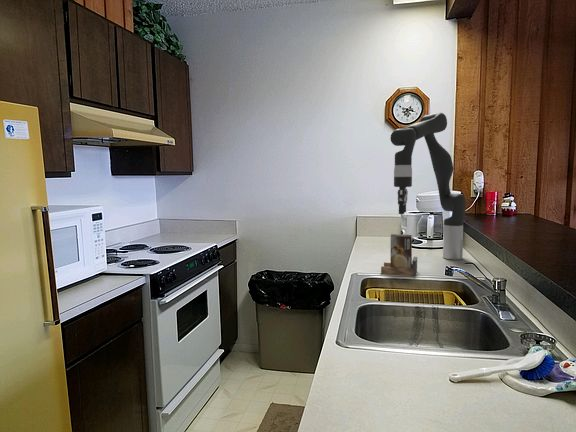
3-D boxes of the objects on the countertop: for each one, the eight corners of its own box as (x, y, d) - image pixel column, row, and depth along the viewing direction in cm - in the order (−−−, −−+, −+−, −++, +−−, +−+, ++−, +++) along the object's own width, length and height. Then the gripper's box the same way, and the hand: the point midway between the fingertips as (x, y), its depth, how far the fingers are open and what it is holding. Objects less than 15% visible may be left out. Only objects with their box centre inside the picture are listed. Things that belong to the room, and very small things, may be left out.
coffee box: (412, 270, 180) (412, 234, 178) (411, 273, 174) (412, 236, 172) (390, 268, 183) (391, 233, 181) (389, 272, 177) (390, 235, 175)
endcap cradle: (417, 271, 180) (417, 256, 179) (415, 276, 171) (415, 261, 171) (384, 269, 185) (384, 254, 185) (381, 273, 177) (381, 258, 176)
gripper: (410, 175, 166) (410, 215, 167) (413, 175, 179) (412, 211, 181) (392, 176, 169) (391, 214, 170) (395, 175, 182) (395, 211, 183)
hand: (402, 213), depth 175 cm, fingers open, 8 cm apart
